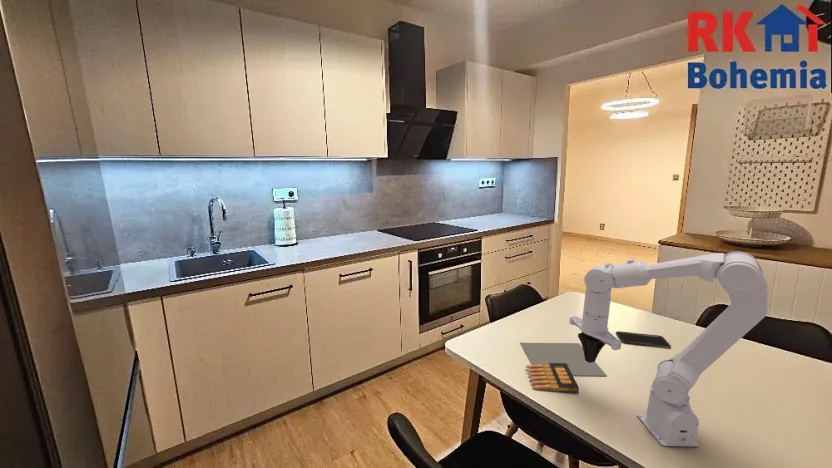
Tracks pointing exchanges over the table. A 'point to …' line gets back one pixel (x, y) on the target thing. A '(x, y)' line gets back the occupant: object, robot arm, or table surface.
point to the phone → (643, 340)
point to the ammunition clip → (553, 377)
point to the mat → (562, 357)
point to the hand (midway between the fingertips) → (590, 360)
